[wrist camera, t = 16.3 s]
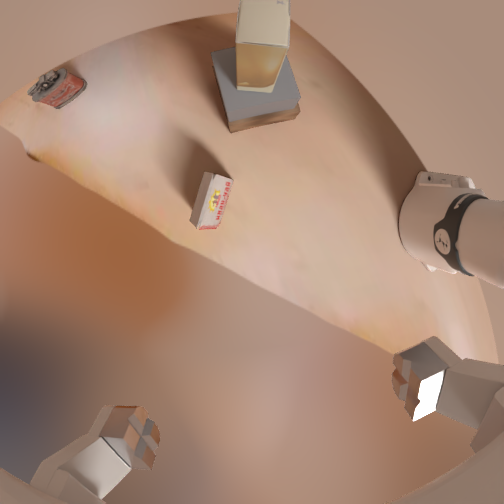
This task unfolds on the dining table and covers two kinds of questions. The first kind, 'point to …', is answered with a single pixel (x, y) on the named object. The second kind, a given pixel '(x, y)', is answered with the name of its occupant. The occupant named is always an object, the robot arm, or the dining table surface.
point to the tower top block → (250, 101)
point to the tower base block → (259, 117)
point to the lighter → (57, 88)
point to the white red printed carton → (210, 201)
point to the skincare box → (261, 43)
